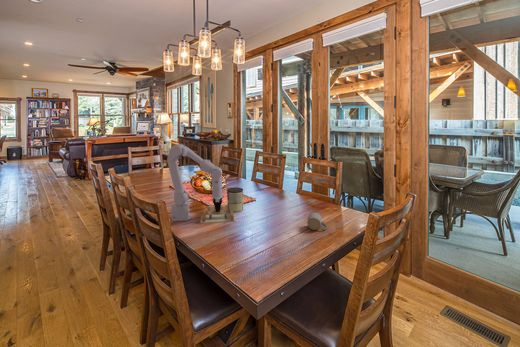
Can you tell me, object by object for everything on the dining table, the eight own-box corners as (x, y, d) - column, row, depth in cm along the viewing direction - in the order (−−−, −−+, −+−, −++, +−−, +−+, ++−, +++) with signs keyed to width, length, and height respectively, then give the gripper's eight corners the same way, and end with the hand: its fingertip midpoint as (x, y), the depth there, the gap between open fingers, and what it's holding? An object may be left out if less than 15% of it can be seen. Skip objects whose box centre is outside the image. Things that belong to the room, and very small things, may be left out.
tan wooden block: (207, 214, 169) (207, 207, 168) (208, 212, 173) (207, 205, 172) (228, 214, 171) (228, 206, 170) (228, 211, 175) (228, 204, 174)
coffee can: (224, 210, 189) (223, 189, 187) (237, 207, 196) (236, 186, 193) (233, 213, 181) (232, 192, 179) (246, 210, 188) (246, 189, 185)
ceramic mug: (306, 230, 154) (307, 216, 153) (307, 225, 162) (308, 211, 161) (327, 232, 152) (328, 218, 151) (326, 226, 160) (327, 213, 159)
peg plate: (200, 223, 165) (200, 217, 165) (201, 216, 177) (201, 210, 176) (235, 221, 168) (235, 215, 167) (234, 214, 180) (234, 209, 179)
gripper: (224, 191, 163) (224, 214, 165) (224, 185, 177) (224, 206, 179) (211, 191, 162) (212, 214, 164) (212, 185, 176) (212, 207, 178)
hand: (217, 210), depth 172 cm, fingers closed on tan wooden block, 4 cm apart
